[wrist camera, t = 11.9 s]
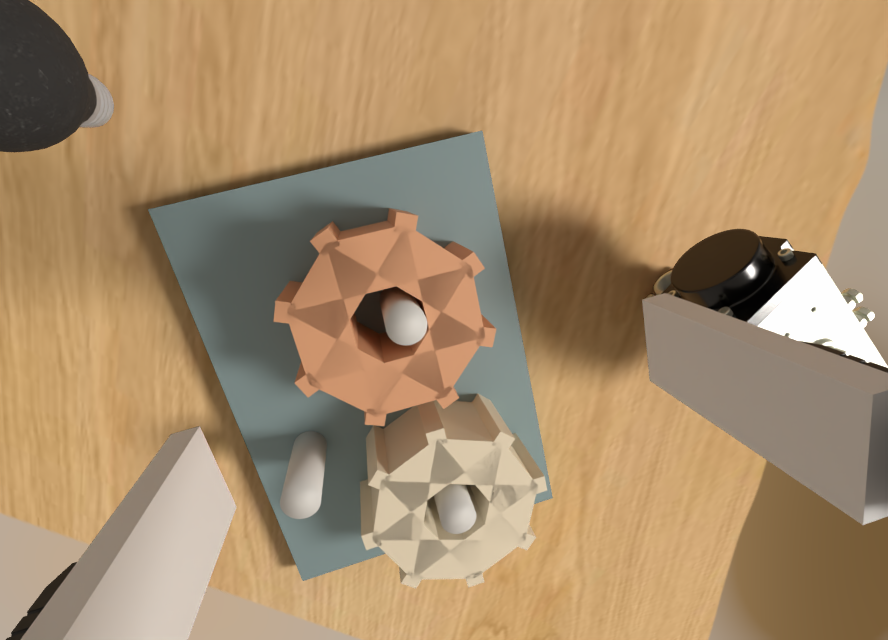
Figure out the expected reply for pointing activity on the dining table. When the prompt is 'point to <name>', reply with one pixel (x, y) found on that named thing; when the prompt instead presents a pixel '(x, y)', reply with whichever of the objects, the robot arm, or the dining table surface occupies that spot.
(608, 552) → the dining table surface
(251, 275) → the gear board
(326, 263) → the loose gear
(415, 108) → the dining table surface
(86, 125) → the light bulb
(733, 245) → the pneumatic valve
